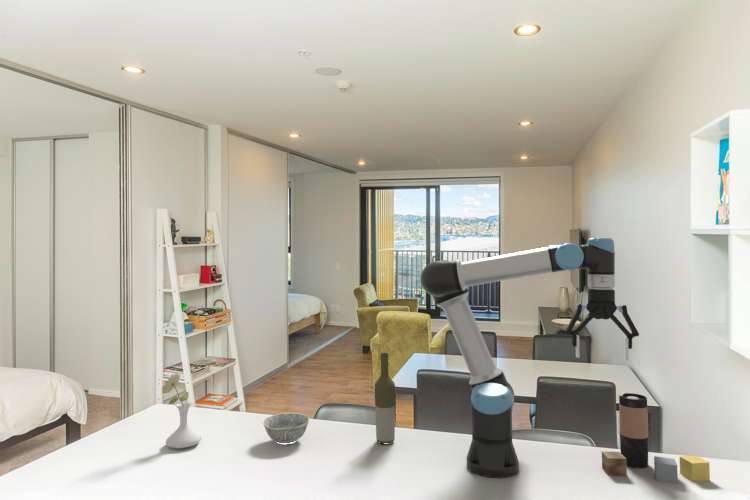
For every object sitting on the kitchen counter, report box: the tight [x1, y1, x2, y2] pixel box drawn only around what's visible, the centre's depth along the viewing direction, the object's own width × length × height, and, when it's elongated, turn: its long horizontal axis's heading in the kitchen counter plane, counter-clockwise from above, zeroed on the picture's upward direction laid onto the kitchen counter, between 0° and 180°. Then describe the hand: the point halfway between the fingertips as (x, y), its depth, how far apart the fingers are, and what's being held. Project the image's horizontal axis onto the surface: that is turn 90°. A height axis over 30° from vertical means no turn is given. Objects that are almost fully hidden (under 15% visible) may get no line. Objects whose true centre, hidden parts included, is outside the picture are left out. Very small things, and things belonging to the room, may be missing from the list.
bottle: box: [374, 352, 396, 444], centre depth 168 cm, size 7×7×30 cm
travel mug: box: [618, 392, 649, 469], centre depth 148 cm, size 8×8×20 cm
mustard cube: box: [679, 455, 711, 482], centre depth 138 cm, size 5×5×5 cm
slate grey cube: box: [653, 455, 679, 485], centre depth 137 cm, size 5×5×5 cm
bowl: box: [262, 412, 311, 443], centre depth 169 cm, size 16×16×8 cm
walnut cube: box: [601, 450, 628, 477], centre depth 142 cm, size 5×5×5 cm
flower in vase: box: [161, 372, 202, 449], centre depth 166 cm, size 13×11×25 cm
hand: (601, 358), depth 150 cm, fingers open, 13 cm apart
